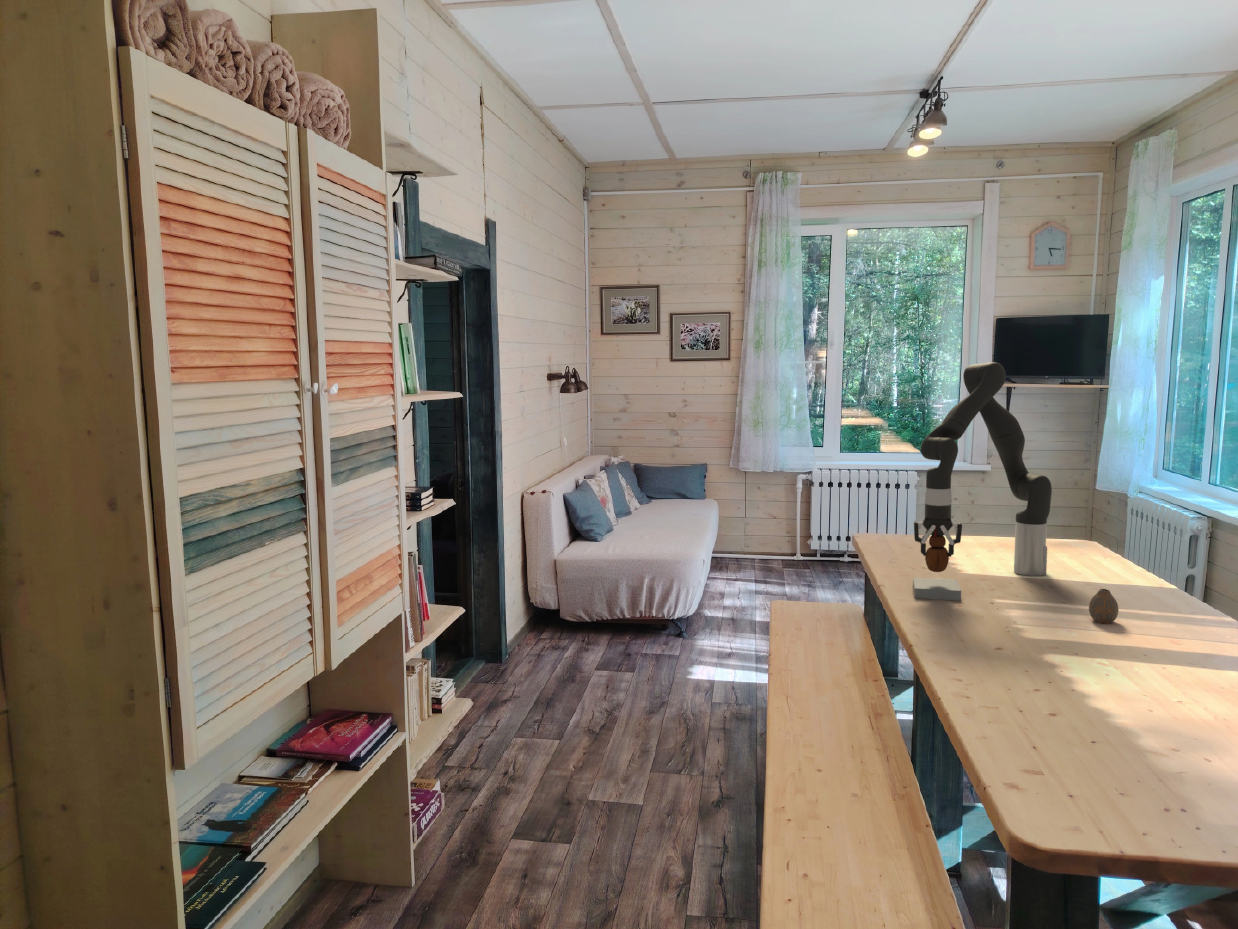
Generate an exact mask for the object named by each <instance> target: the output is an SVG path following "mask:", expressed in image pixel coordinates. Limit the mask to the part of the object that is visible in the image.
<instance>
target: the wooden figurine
mask: <svg viewBox="0 0 1238 929" xmlns="http://www.w3.org/2000/svg"><path fill="white" fill-rule="evenodd" d="M935 526H936V524H935ZM946 542H947V539H946V536H945V535H943V536H940V535H937V527H936V528H935V531H934V535H930V537H929V538H928V544H929V546H930V547H928V548H926V556H924V559H925V564H926V567H927V569H928V571H931V572H934V573H941V572H944V571H945V570H947V568H948V564H949V560H950V557H949V554H948V549H947V548H946V547H945V546H946Z"/></svg>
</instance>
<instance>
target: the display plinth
mask: <svg viewBox="0 0 1238 929" xmlns="http://www.w3.org/2000/svg"><path fill="white" fill-rule="evenodd" d="M912 588H913V590H912V591H913V595H914V599H927V600H928V599H929V600H946V601H960V602H961V601H962V590H961V587H960V584H959V581H958V579H953V578H938V577H937V578H934V577H919V576H918V577H912Z"/></svg>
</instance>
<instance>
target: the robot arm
mask: <svg viewBox="0 0 1238 929" xmlns="http://www.w3.org/2000/svg"><path fill="white" fill-rule="evenodd" d="M1006 376H1007V374H1006V370H1005V368H1004V366H1003V365H1002V364H1001V363H999V362H995V361H993V362H992V361H990V362H981V363H975V364H970V365H967V367H965V369H964V370H963V383H964V387H965V388H966V391H967V392H968V394H969V395H967V396H966V397H965V398H963V399H962V400H961V401H960V402H958V403H956V404H955V405H954V406H953V407H952V408H951V409H950V410H949V411H948V413H947V414H946V416H945V417H944V419H943V420H942V422H941V424H940V425H938V426H937V427H935V428H934V429H933V430H931V432H930V433H929V434H927V435H926V436H925V437H924V439H923V441H922V443H921V445H920V454H921V456H922V457H923V458H924V459H926V460H930V461H939V465H938V466H937V467H931V468H929V469H927V471H926V475H925V478H926V480H925V493H924V494H925V495H924V519H923V521H917V520H915V521H913V533H914V534H913V535H914V536H913V537H914V541H915V542H917V543H920V553H921V554H922V556H923V557H925V556H926V551H927V543H926V542H927V541H928V540H929V538H930V537H931V536H932V535H934V531H935V528H936V527H937V535H940V536H944V537H945V539H946V540H947V541H948V549H947V550H948V554H949V558H951V557H952V556H953V555H955V545H956V544H960V543H961V540H962V530H963V524H962V522H960V521H959V522H953V521H952V502H953V500H952V474H953V470H954V466H955V463H956V460H957V457H958V453H959V446H958V443H957V440H959V439H960V438H962V437H963V436H964V433H965V432H966V431H967V429H968V428H969V426H970V424H971V423H972V421H973V420H974V418H976V416H977V415H978V414H980V416H981V417H982V419H983V423H984V424H985V426H986V428H987V430H988V434H989V436H990V439H991V441H992V443H993V445H994V447H995V450H996V452H997V453H998V456H999V459H1000V461H1001V463H1002V467H1003V469H1004V472H1005V475H1006V479H1007V482H1008V484H1009V488H1010V491H1011V493H1012V494H1013V496H1014V497H1015V499H1018V500H1020V501H1025V502H1027V503H1026V504H1027V505H1026V508H1025V510H1020V511H1018V512H1016V514H1015V524H1014V525H1015V526H1014V527H1015V528H1014V529H1015V530H1014V532H1015V533H1014V556H1013V559H1014V560H1013V572H1014V574H1019V575H1021V576H1030V577H1039V576H1040V577H1041V576H1047V570H1048V569H1047V568H1048V565H1047V564H1048V546H1047V525H1048V524H1047V523H1048V517H1049V515H1050V512H1051V501H1052V495H1053V494H1052V491H1053V490H1052V489H1053V488H1052V482H1051V480H1050V479H1049V477H1047V476H1046V475H1042V474H1037V473H1030V472H1029V471H1028V469H1027V468H1026V465H1025V463H1024V460H1023V454H1024V448H1025V443H1026V441H1025V440H1026V437H1025V435H1024V434H1025V433H1024V432H1023V429H1022V427H1021V425H1020V422H1019V421H1018V420H1017V419H1018V418H1016V416H1014V415H1013V413H1011V412H1010V411H1009V410H1008V409H1006V408H1005V407H1004V406H1002V404H1000V403H999V402H998V401H997V400H996V399H995V397H994V396H996V394H997V393H998V392H999V391H1000V390H1001V389H1003V386H1004V384H1005V382H1006V378H1007V377H1006ZM935 524H936V526H935ZM922 526H923V528H925V530H926V531H925V532H924V533H923V536H921V537H920V534H919V533H920V532H919V530H920V529H922ZM952 527H953V528H954V530H955V531H956V532H955V538H952V536H951V534H950V533H949V531H950V530H951V529H952Z"/></svg>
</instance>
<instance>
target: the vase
mask: <svg viewBox="0 0 1238 929" xmlns="http://www.w3.org/2000/svg"><path fill="white" fill-rule="evenodd" d="M1119 609H1120V608H1119V604H1118V602H1117V599H1116V598H1115V597H1114V596H1113V595H1112V593H1111V591H1110V589H1107V588H1100V589H1099V590H1098V591H1097V592H1096V593H1095V594H1094V595H1093V596H1092V597H1091V599H1090V600H1089V603H1088V612H1089V615H1090V617H1091V619H1092V620H1093V621H1094V622H1096V623H1100V624H1111V623H1113V622H1115V620H1117V618H1118V616H1119V611H1120V610H1119Z"/></svg>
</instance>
